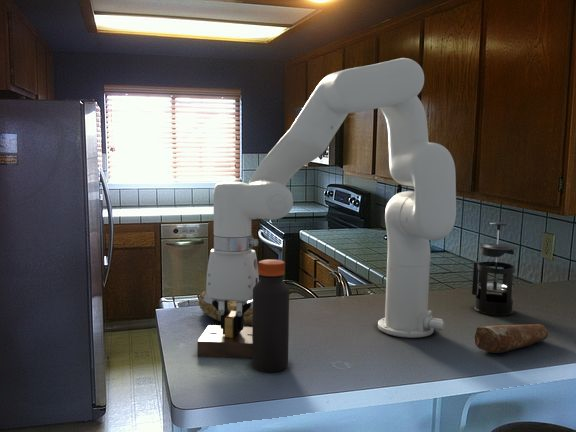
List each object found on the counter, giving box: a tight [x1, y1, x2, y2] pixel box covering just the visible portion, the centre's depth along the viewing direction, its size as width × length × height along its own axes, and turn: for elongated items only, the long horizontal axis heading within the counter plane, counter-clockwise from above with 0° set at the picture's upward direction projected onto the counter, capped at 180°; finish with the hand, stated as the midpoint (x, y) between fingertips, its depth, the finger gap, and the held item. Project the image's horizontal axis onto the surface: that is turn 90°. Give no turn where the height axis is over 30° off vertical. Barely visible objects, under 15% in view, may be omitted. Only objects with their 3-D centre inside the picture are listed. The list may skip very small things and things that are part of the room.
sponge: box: [198, 289, 253, 326], centre depth 132 cm, size 13×8×20 cm
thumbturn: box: [225, 311, 236, 338], centre depth 114 cm, size 5×2×4 cm, turn 169°
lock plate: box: [197, 324, 253, 359], centre depth 114 cm, size 12×10×3 cm
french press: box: [471, 221, 517, 317], centre depth 143 cm, size 12×9×23 cm
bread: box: [474, 323, 549, 354], centre depth 117 cm, size 6×19×6 cm, turn 119°
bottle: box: [251, 258, 290, 373], centre depth 105 cm, size 7×7×20 cm
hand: (232, 332), depth 114 cm, fingers closed on thumbturn
